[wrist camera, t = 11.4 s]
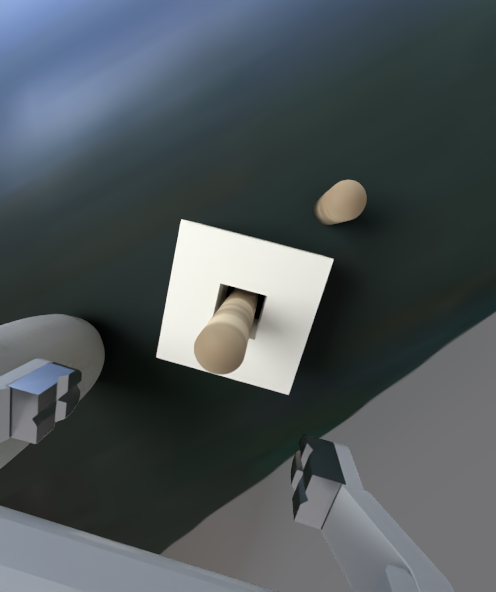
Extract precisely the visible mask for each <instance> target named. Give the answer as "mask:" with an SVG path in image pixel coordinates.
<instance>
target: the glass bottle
mask: <svg viewBox="0 0 496 592" xmlns="http://www.w3.org/2000/svg"><path fill="white" fill-rule="evenodd" d="M37 358H42V359H45V360H48V361H52V362H56V363H59V364H62V365H65V366H68V367H72V368H75V369H78V370H80V371H81V372H82V381H81V382H79V383H78V384H77V386H78V388H79V390H80V398H79V400H80V399H81V398H82V397H83V396H84V395H85V394H86V393H87V392H88V391H89V390H90V389H91V387H92V386H93V385H94V383H95V382H96V380H97V379H98V377H99V375H100V373H101V370H102V367H103V364H104V358H105V351H104V346H103V342H102V340H101V337H100V335H99V333H98V331H97V330H96V329H95V328H94V326H92V325H91V324H90V323H88V322H87V321H85V320H83V319H81V318H77V317H72V316H68V315H63V314H51V315H42V316H35V317H29V318H25V319H21V320H17V321H14V322H11V323H7V324H4V325H1V326H0V376H2V375H4V374H6V373H8V372H10V371H12V370H14V369H16V368H18V367H20V366H22V365H24V364H26V363H28V362H30V361H32V360H34V359H37ZM29 443H30V442H26V441H23V440H19V439H15V438H11V437H9V439H8V440H5V441H3V442H1V443H0V469H1V468H2V467H3V466H4V465H5V464H6V463H8V462H9V461H10V460H11V459H12V458H14V457H15V456H16V455H17V454H18V453H19V452H20V451H22V450H23V449H24V448H25V447H26V446H27V445H28V444H29Z"/></svg>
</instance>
